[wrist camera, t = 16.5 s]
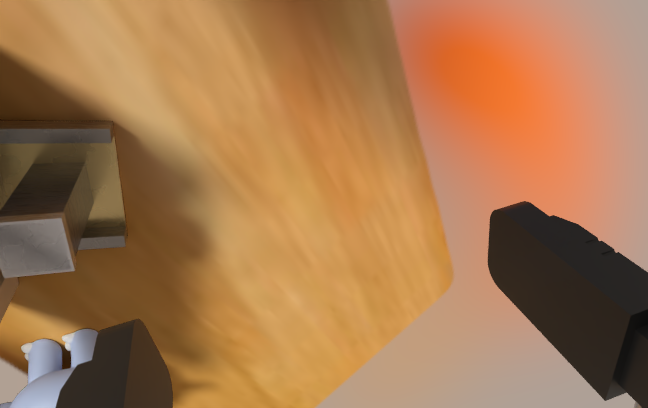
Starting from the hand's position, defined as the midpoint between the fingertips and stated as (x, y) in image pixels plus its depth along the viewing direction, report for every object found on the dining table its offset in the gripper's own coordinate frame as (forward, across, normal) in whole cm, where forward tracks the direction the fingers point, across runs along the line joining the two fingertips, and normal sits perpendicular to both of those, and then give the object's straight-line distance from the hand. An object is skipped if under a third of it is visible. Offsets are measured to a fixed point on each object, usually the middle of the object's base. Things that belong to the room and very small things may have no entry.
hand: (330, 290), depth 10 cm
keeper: (+32, +16, +9) cm, 37 cm away
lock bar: (+32, +16, +8) cm, 37 cm away
